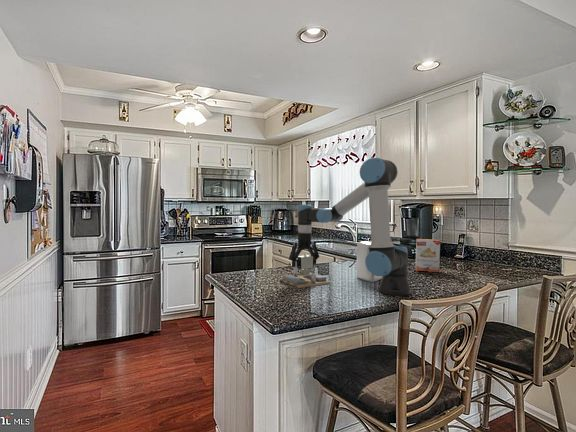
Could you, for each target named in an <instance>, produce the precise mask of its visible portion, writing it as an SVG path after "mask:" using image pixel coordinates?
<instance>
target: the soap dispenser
mask: <svg viewBox="0 0 576 432" xmlns="http://www.w3.org/2000/svg"><path fill="white" fill-rule="evenodd" d="M371 243H372V241H371V240H364V241H358V242H357V243H356V277H357V279H359V280H363V281H365V282H369V283H370V282H372V283H374V282H378V281H381V279H382V276H375V275H373V274H372V273H370V271H368V269H367V267H366V264H365V259H366V256H367V255H368V253H369V245H370V244H371Z"/></svg>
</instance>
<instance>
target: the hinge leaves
mask: <svg viewBox="0 0 576 432" xmlns="http://www.w3.org/2000/svg"><path fill="white" fill-rule="evenodd" d="M298 269H299V268H297V273H293V274H285V275H282V278H283V279H284V280H286V281H289V282H292V283H294V284H305V280H304V279H301V278H299V277H298V276H299V273H298V272H299V270H298ZM304 277H307V278H310V279H311V283H312V284H315V283H316V281H318V282H320V281H326V280H327V276H325V275H321V274H317V273H314V272H313V271H312V272H311V271H310V274H309V276H304Z"/></svg>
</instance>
